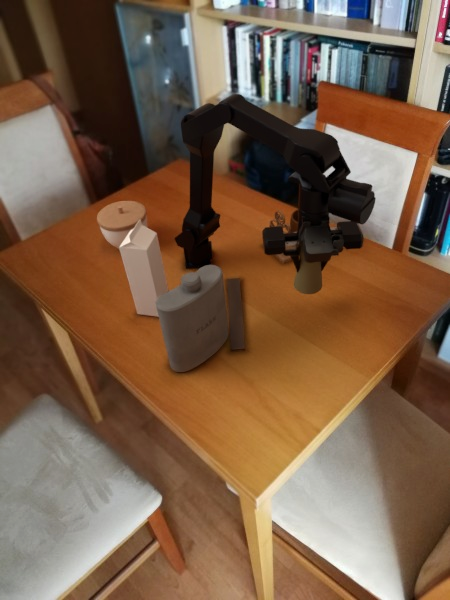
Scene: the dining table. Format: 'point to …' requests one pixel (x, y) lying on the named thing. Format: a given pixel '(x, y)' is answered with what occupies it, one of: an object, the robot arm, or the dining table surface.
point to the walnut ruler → (235, 315)
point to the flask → (194, 318)
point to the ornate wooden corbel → (288, 228)
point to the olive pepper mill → (308, 275)
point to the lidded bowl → (120, 220)
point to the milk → (144, 268)
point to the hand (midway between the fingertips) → (309, 270)
